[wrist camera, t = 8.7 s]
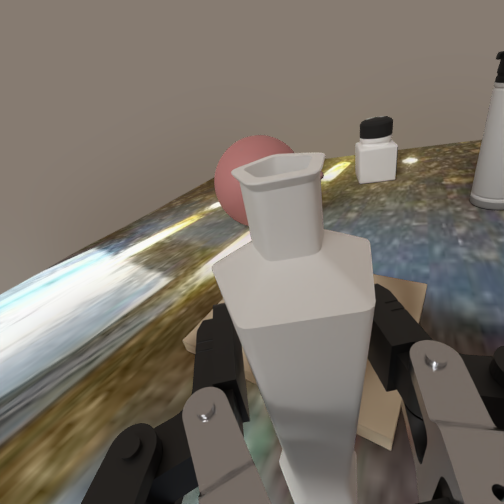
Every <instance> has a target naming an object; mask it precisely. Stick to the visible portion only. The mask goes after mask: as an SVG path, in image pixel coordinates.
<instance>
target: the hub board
mask: <svg viewBox="0 0 504 504" xmlns="http://www.w3.org/2000/svg"><path fill="white" fill-rule="evenodd" d="M373 278H374V284H377V283H378V284H380V285H381V286H383V287H385V288H387V289H388V290H390V291H391V292H392V294H393V295H394V296H395V297H396V298H397V299H398V302H400V303H401V304H402V305H403V306H404V309H406V310H407V311H408V312H409V313H410V315H411V316H412V317H413V318H414V319H415V320H416V321H417V323H418V324H419V322H420V318H421V313H422V309H423V304H424V300H425V295H426V289H427V284H424V283H418V282H413V281H407V280H402V279H396V278H391V277H386V276H380V275H375V274H373ZM221 303H225V301H224V299H222V300H221V301H220V302H219V303H218V304H221ZM212 318H213V309H212V311H211V312H210V313H209V314H208V315H207V316H206V317H205V318H204V319H203V320H208V319H212ZM203 320H202V321H203ZM202 321H201V322H200V323H199V324H198V325H197V326H196V327H195V328H194V329H193V330H192V331H191V332H190V333H189V334H188V335H187V336H186V337H185V338H184V339H183V340H182V341H183V343H184V345H185V347H186V350H187V351H189V352H192V353H194V354H196V352H195V349H196V335H197V330H198V328H199V326H200V324H201V323H202ZM242 352H243V361H244V371H245V379H246V380H248V381H250V382H252V383H254V384H256V385H257V383H256V380H255V378H254V375H253V373H252V370H251V368H250V365H249V362H248V360H247V357H246V355H245V352H244V350H243V347H242ZM401 401H402V397H401V396H400V394H399V392H398V391H397V390H394V391H389V392H386V390H385V388H384V387H383V385H382V383H381V381H380V379H379V378H378V376H377V374H376V372H375V371H374V369H373V367H372V365H371V364H370V362H369V360H368V358H367V364H366V371H365V378H364V385H363V392H362V398H361V405H360V412H359V419H358V426H357V433H356V434H358V435H360V436H362V437H364V438H366V439H368V440H370V441H372V442H374V443H376V444H378V445H380V446H382V447H384V448H386V449H388V450H390V451H391V449H392V444H393V440H394V435H395V431H396V426H397V422H398V417H399V413H400V408H401Z"/></svg>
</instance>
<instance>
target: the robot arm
mask: <svg viewBox="0 0 504 504" xmlns="http://www.w3.org/2000/svg"><path fill="white" fill-rule="evenodd" d="M374 289H375V299H376V302H375V309H374V316H373V323H372V330H371V337H370V343H369V350H368V357H367V358H368V360H369V362H370V364H371V365H372V367H373V369H374V371H375V372H376V374H377V376H378V378H379V379H380V381H381V383H382V385H383V387H384V388H385V390H386V392H389V391H394V390H397V391H398V392H399V394H400V396H401V397H402V401H401V407H402V412H403V416H404V420H405V424H406V429H407V433H408V437H409V441H410V446H411V450H412V454H413V458H414V463H415V467H416V475H417V490H418V497H419V502H420V503H417V504H504V346H501V347H499V348H498V349H497V350H496V351H495V353H494V355H493V357H492V356H477V355H464V354H459V353H457V352H456V351H455V350H454V349H452V348H451V347H449V346H448V345H446V344H443V343H441V342H438V341H433V340H432V339H431V338H430V337H429V335H428V334H427V333H426V332H425V331H424V330H423V328H422V327H421V326H420V325H419V324H418V323H417V321H416V320H415V319H414V318H413V317H412V316H411V315H410V313H409V312H408V311H407V310H406V309H404V306H403V305H402V304H401V303H400V302H398V299H397V298H396V297H395V296H394V295H393V294H392V292H391V291H390V290H388V289H387V288H385V287H383V286H381V285H380V284H378V283H377V284H374ZM195 352H196V354H195V363H194V377H193V390H192V395H191V396H190V397H189V399H188V400H187V402H186V404H185V406H184V408H183V410H182V411H181V412H180V413H179V414H177V415H176V416H175V417H173V418H171V419H170V420H168V421H166V422H164V423H163V424H161V425H159V426H157V427H155V428H154V429H153V428H152V427H151V426H150V425H148V424H144V423H139V424H135V425H132V426H130V427H128V428H127V429H125V430H124V431H123V432H122V433H120V434H119V435H118V436H117V438H116V439H115V440H114V441H113V443H112V445H111V446H110V448H109V450H108V452H107V454H106V456H105V458H104V460H103V462H102V464H101V466H100V468H99V469H98V471H97V473H96V475H95V477H94V479H93V481H92V483H91V485H90V487H89V489H88V491H87V493H86V495H85V497H84V499H83V501H82V503H81V504H182V500H183V497H184V495H186V494H187V493H189V492H190V491H192V490H193V489H195V488H196V487H198V486H199V491H200V495H199V504H271V502H270V499H269V497H268V495H267V492H266V490H265V487H264V485H263V483H262V480H261V478H260V475H259V473H258V471H257V468H256V466H255V464H254V462H253V460H252V457H251V455H250V452H249V450H248V448H247V445H246V443H245V440H244V434H243V423H244V422H248V421H250V418H249V408H248V399H247V390H246V380H245V371H244V361H243V352H242V345H241V342H240V339H239V337H238V334H237V332H236V329H235V327H234V324H233V322H232V319H231V317H230V314H229V311H228V309H227V306H226V304H225V303H221V304H216V305H213V318H212V319H208V320H203V321H202V323H201V324H200V326H199V328H198V330H197V335H196V349H195Z"/></svg>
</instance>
